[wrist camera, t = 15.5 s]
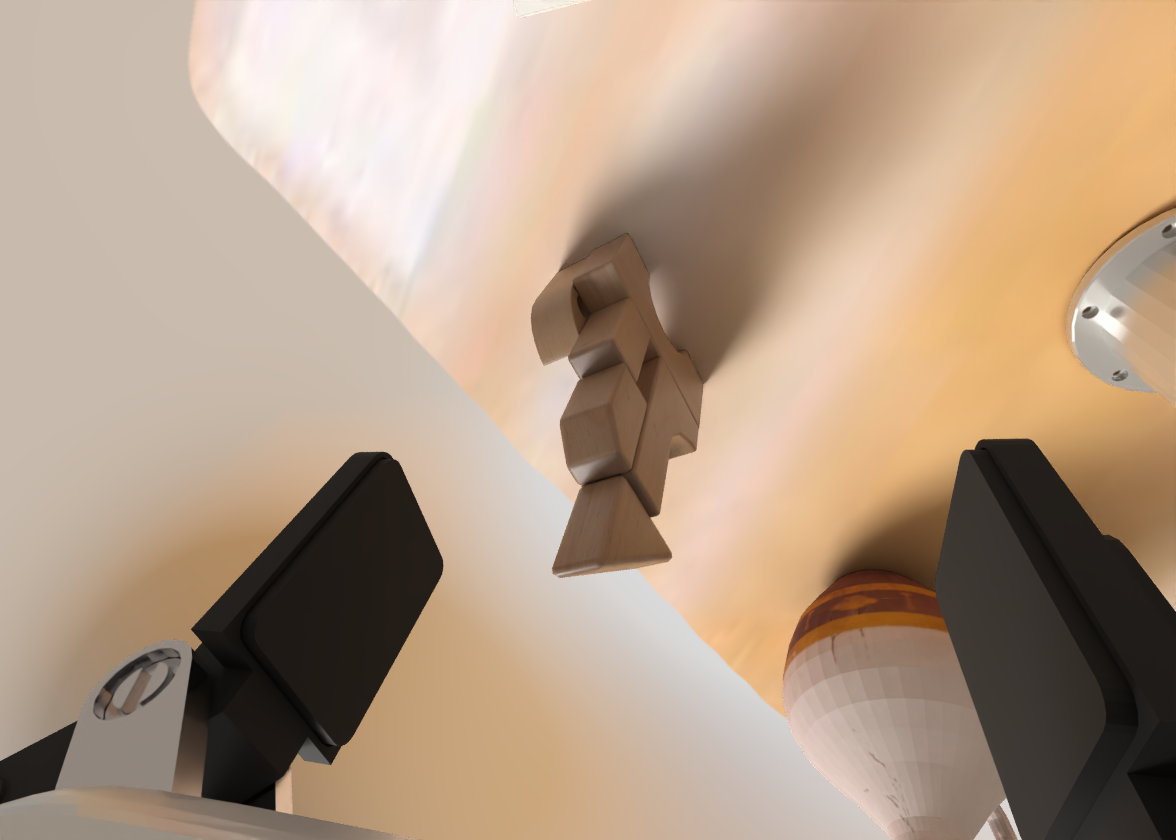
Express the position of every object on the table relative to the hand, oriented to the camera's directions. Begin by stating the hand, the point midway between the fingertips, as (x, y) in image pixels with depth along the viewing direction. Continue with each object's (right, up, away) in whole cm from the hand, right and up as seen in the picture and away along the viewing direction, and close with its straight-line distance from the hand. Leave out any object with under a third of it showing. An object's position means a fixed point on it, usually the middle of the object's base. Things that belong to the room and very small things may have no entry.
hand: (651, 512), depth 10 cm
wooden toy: (+3, +8, +35) cm, 36 cm away
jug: (+27, -16, +45) cm, 55 cm away
